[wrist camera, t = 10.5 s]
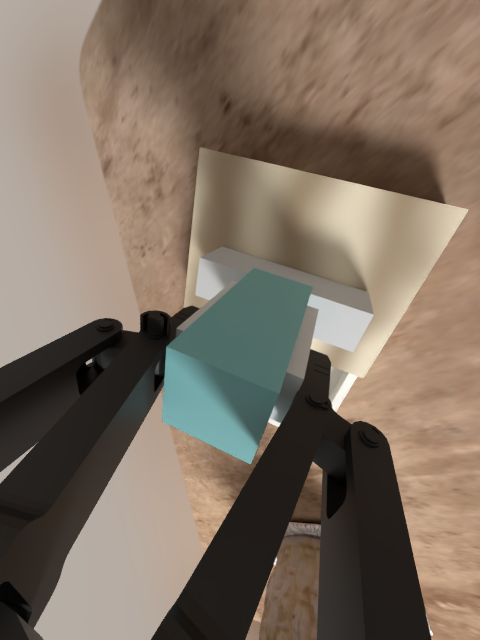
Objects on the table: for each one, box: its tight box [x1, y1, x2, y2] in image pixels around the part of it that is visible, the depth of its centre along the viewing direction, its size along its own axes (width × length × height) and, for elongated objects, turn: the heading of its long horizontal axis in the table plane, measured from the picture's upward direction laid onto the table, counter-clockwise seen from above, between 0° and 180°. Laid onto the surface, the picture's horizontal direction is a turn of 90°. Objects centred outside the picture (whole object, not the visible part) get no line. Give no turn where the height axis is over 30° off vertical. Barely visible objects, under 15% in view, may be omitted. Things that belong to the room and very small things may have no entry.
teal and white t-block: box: [162, 246, 374, 465], centre depth 15 cm, size 12×4×14 cm, turn 78°
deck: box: [184, 147, 468, 378], centre depth 22 cm, size 18×14×4 cm
